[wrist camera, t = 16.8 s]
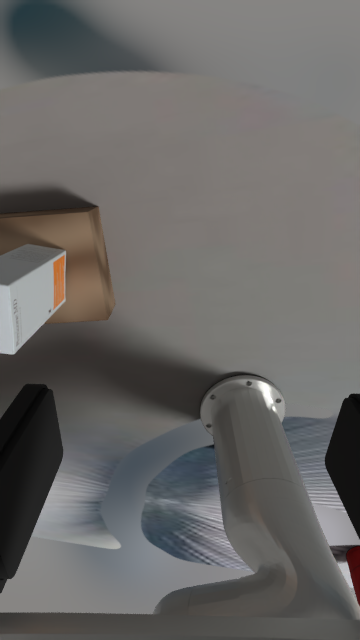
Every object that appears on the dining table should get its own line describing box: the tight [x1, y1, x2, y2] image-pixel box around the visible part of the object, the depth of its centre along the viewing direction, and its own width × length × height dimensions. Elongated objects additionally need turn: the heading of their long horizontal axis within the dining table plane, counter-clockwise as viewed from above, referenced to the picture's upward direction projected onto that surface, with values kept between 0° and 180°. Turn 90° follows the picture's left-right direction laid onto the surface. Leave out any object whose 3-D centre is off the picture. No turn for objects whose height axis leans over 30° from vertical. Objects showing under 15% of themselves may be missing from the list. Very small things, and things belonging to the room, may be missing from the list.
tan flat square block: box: [0, 206, 115, 324], centre depth 37 cm, size 12×12×5 cm
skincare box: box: [0, 244, 66, 355], centre depth 29 cm, size 6×4×12 cm
